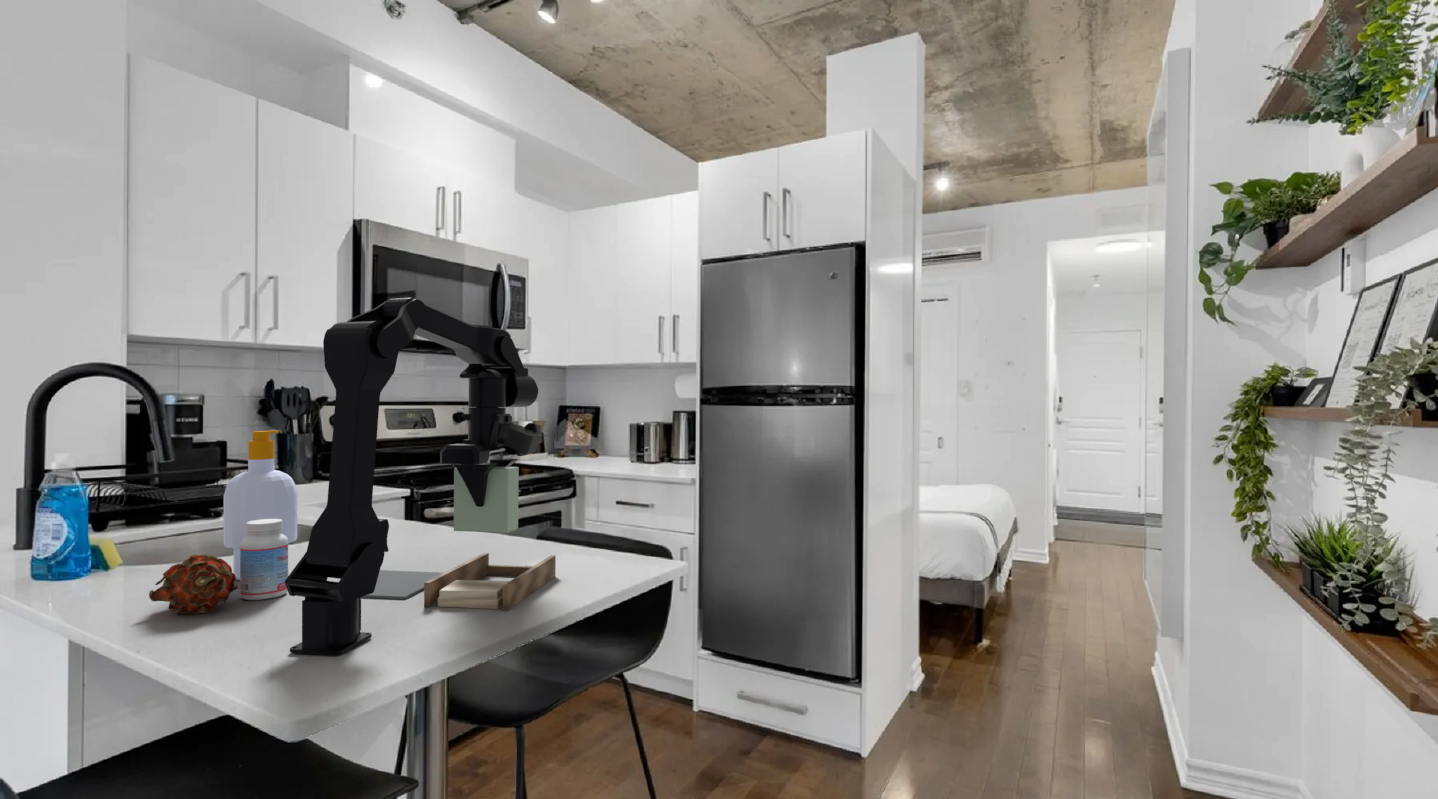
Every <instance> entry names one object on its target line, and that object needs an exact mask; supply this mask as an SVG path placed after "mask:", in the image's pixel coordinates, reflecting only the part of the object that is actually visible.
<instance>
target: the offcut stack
mask: <svg viewBox="0 0 1438 799" xmlns="http://www.w3.org/2000/svg"><path fill="white" fill-rule="evenodd" d="M509 581H510V580H480V579H478V580H455V581H454V582H452V583H451V584H449V585H447V586H446V587H444V588H443V589H441V590H439V598H438V603H437V607H447V608H465V609H467V608H469V609H487V610H489V609H490V610H498V609H499V608H501V607H503V585H505V584H506V583H508V582H509Z"/></svg>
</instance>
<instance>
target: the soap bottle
mask: <svg viewBox="0 0 1438 799" xmlns="http://www.w3.org/2000/svg"><path fill="white" fill-rule="evenodd" d="M278 433H280V429H279V430H256V431H255V430H254V431H252V440H249V441H248V445H247V446H248V447H247V448H248V449H247V450H248V453H247V454H248V459H247V464H248V465H247V467H248V468H247V471H243V472H241V473H239V474H237V475H235V476H233V477H232V478H231V479H230V480H229V481H228V483H227V485H226V487H225V489H224V494H223V537H222V538H223V541H222V542H223V546H224V547H225V548H228V549H233V562H232V563H233V567H232V568H233V569H232V573H234V574H235V577H236V581H237V580H238V581H240V545H241V542H242V541H243V539H245V538H246V537H248V533H247V531H246V523H247V522H249V521H254V520H261V519H281V520H282V524H283V528H282V530H281V534H283V535H285V536H286V537H287V539H288V544H289V543H293V542H296V540H297V539H298V488H297V485H296V483H295V481H294V479H293V478H292V477H291V476H290V475H289V474H288V473H285V472H284V471H281V470H275V440H274V439H273V440H272V439H271V434H278Z"/></svg>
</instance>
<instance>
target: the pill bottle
mask: <svg viewBox="0 0 1438 799" xmlns="http://www.w3.org/2000/svg"><path fill="white" fill-rule="evenodd" d="M282 528H283V524H282V520H281V519H261V520H254V521H249V522H247V523H246V531H247V533H248V537H246V538H245V539H243V541H242V542H241V545H240V580H239V582H240V584H239V586H240V587H239V595H240V598H241V599H242V600H244V601H245V600H246V601H263V600H267V599H274V598H279V597H281V596H284V595H285V594H287V593H288V590H287V587H286V585H285V580H286V579H287V577H288V576H289V543H288V539H287V537H286V536H285V535H283V534H281V530H282Z"/></svg>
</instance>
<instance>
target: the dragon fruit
mask: <svg viewBox="0 0 1438 799" xmlns="http://www.w3.org/2000/svg"><path fill="white" fill-rule="evenodd" d="M232 568H233V567H232V566H231V565H229V563H228V562H227V561H226V560H224V559H223V558H218V557H217V556H216V555H214V554H201V555H200V554H192V555H190V556H189V557H188V558H187V559H184V560H183V561H182V562H180V563H176V564H174V565H172V566H170V567H169V568H168V569H167V570H166V571H164V572H163V573H162V576H163V577H162V578H160V580H158V581H157V582H156V583H155V584H154V586H158V585H160V584H161V583H162V582H163V583H162V586H160V587H158V588H157V589H155V590H153V589H151V590H150V591H149V592H148V598H149V600H151V602H165V603H168V602H169V605H168V610H169V611H170V612H172V613H173V614H176V615H182V614H187V613H189V612H190V613H193V614H208V613H210V612H212V611H213V610H214V609H215V607H216V606H220V605H222V604H225V603H226V602H227V600H229V597H230V594H231V593H233V592H234V591H236V590H238V589H239V586H238V582H237V579H236V577H235V574H234V573H233V569H232Z"/></svg>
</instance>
